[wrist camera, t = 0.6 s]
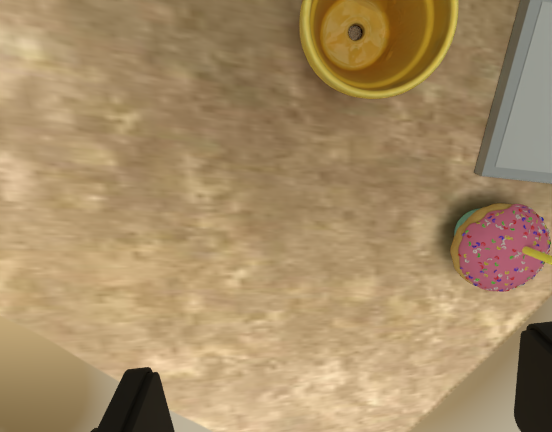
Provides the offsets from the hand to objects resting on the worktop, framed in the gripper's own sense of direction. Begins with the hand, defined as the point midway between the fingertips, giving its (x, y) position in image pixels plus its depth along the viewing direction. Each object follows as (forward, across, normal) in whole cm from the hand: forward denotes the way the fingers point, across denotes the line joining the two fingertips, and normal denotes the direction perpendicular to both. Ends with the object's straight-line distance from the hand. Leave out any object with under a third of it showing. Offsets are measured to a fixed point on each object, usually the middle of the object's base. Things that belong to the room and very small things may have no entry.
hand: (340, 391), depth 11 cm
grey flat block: (+31, -26, -3) cm, 40 cm away
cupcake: (+31, -18, +10) cm, 37 cm away
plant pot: (+31, -7, -10) cm, 33 cm away
